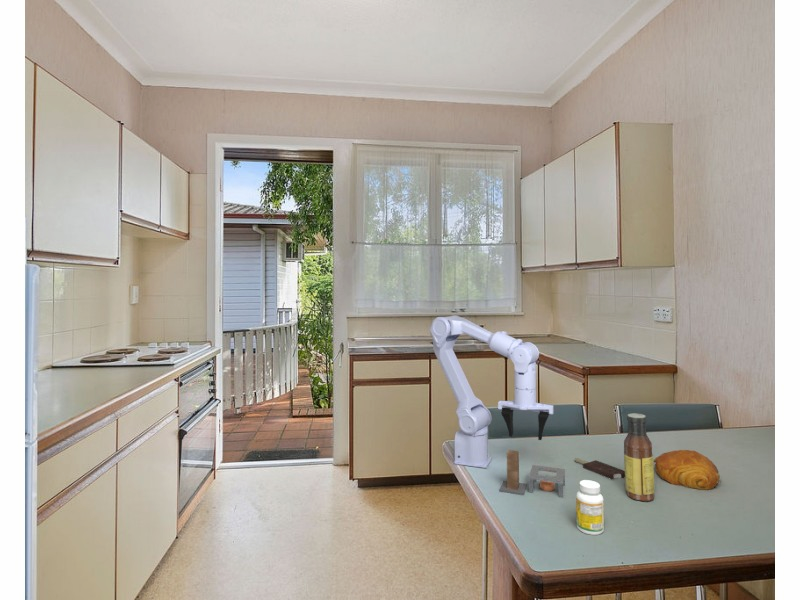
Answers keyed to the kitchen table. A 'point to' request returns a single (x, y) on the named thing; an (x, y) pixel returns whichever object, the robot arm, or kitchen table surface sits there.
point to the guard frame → (559, 477)
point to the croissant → (687, 469)
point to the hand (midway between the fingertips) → (525, 437)
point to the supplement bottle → (590, 508)
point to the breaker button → (547, 485)
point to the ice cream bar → (602, 469)
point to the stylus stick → (513, 469)
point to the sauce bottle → (638, 460)
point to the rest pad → (520, 490)
